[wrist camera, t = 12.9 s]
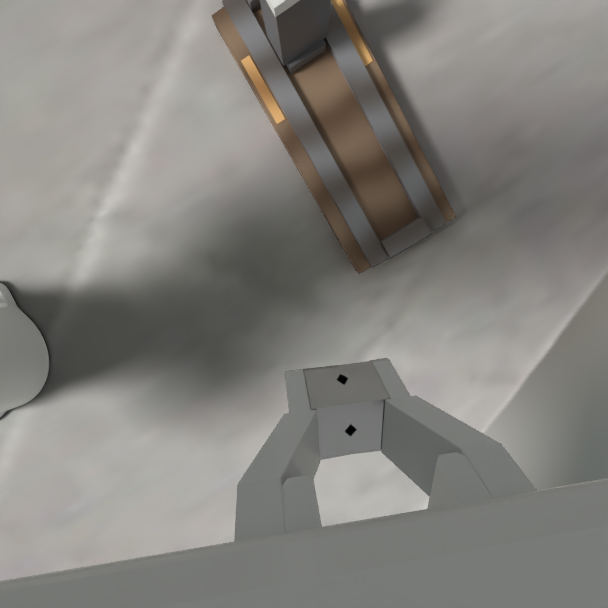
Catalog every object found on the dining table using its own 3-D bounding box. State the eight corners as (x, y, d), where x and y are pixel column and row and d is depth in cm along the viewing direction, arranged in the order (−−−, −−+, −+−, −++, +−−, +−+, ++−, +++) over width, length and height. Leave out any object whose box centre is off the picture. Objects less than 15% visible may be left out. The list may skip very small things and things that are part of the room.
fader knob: (330, 47, 34) (338, -30, 24) (286, 77, 34) (276, 13, 25) (310, 8, 33) (309, -86, 24) (265, 39, 34) (247, -41, 24)
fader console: (448, 218, 39) (462, 215, 35) (356, 271, 40) (361, 274, 37) (314, -42, 35) (315, -75, 31) (217, 28, 36) (206, 4, 32)
